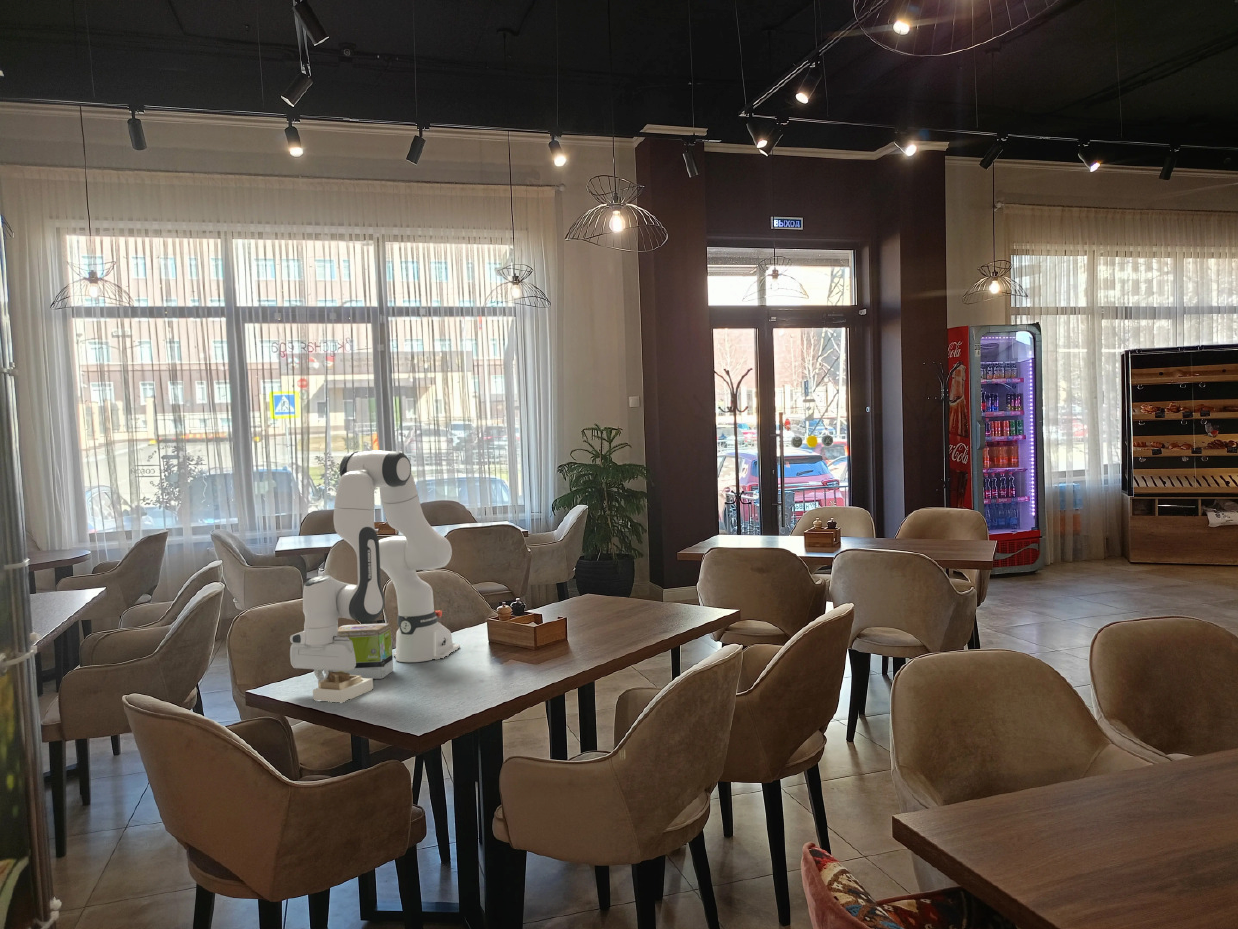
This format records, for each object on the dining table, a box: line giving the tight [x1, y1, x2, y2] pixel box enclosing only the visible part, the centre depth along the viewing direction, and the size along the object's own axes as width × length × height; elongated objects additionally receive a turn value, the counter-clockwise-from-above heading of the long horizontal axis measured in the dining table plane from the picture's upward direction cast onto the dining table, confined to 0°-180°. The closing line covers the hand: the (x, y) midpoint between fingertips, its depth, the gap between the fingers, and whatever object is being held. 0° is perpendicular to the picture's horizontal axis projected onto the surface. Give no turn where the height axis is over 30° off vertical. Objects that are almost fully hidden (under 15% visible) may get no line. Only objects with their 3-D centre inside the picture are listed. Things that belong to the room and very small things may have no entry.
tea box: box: [333, 622, 394, 680], centre depth 257 cm, size 15×10×15 cm, turn 84°
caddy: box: [317, 672, 362, 690], centre depth 237 cm, size 8×8×6 cm
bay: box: [312, 678, 374, 704], centre depth 237 cm, size 13×10×3 cm
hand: (324, 685), depth 239 cm, fingers closed
